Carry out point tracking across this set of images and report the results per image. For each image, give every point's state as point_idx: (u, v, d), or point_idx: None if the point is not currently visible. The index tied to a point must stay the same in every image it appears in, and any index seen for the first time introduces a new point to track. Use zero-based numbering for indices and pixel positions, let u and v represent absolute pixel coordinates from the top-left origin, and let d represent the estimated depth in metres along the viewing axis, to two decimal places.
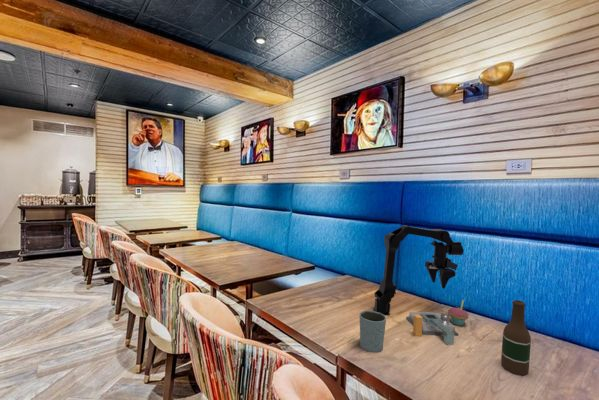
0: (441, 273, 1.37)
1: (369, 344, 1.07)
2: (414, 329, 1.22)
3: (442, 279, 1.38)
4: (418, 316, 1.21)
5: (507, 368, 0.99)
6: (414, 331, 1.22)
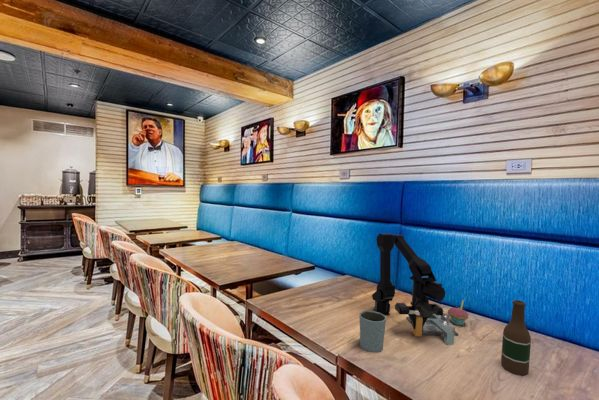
0: None
1: (369, 344, 1.07)
2: (414, 329, 1.22)
3: (409, 315, 1.23)
4: (418, 316, 1.21)
5: (507, 368, 0.99)
6: (414, 331, 1.22)
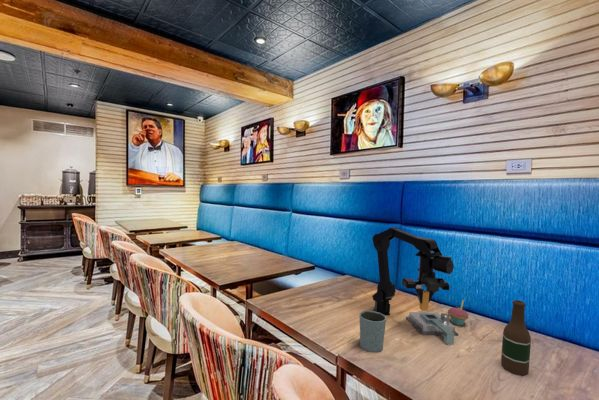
0: None
1: (369, 344, 1.07)
2: (421, 304, 1.25)
3: (416, 290, 1.26)
4: (425, 291, 1.24)
5: (507, 368, 0.99)
6: (421, 306, 1.25)
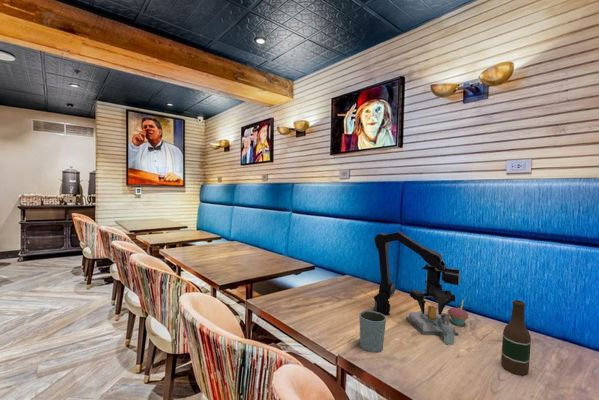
0: None
1: (369, 344, 1.07)
2: None
3: (418, 302, 1.31)
4: (432, 307, 1.30)
5: (507, 368, 0.99)
6: None
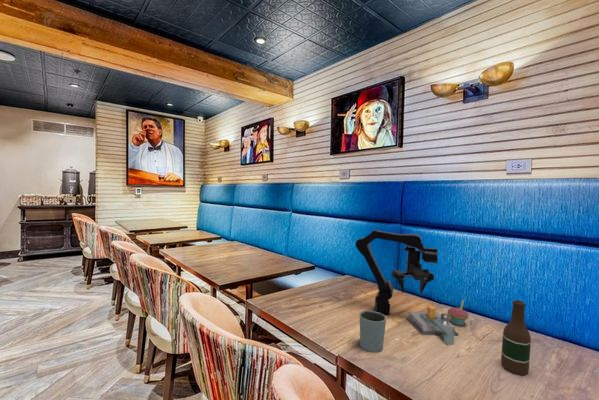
0: None
1: (369, 344, 1.07)
2: None
3: (398, 281, 1.39)
4: (431, 307, 1.30)
5: (507, 368, 0.99)
6: None
